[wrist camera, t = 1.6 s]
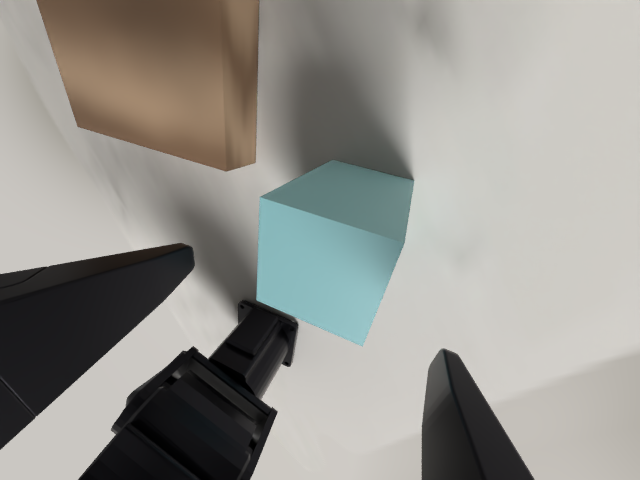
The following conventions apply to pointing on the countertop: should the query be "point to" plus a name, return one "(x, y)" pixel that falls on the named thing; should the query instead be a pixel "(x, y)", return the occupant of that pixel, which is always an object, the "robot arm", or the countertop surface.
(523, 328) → the countertop surface
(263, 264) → the teal block
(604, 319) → the countertop surface
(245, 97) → the wooden board
